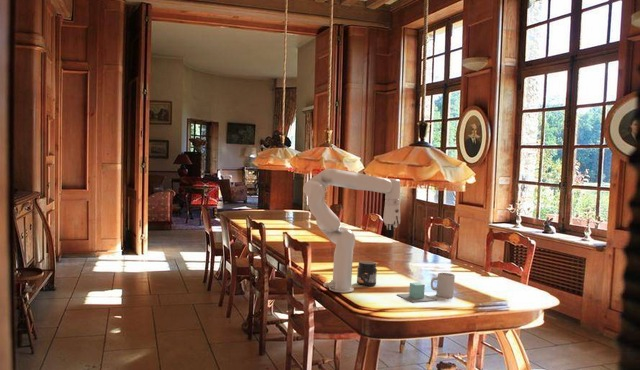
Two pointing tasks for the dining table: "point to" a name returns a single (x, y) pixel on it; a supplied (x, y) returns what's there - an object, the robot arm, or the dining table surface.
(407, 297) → the grey plate with knob
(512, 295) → the dining table surface
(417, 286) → the teal rectangular block
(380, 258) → the dining table surface
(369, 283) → the supplement container
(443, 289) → the mug
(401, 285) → the dining table surface
